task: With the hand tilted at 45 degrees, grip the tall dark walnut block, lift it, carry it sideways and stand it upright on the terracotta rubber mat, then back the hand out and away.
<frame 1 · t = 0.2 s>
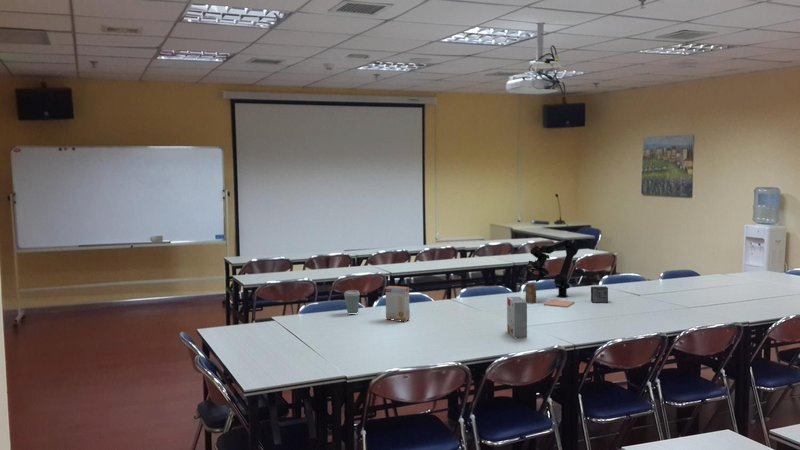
hand: (531, 280, 448), 14 cm above the table, tool tilted 35°, fingers open, 9 cm apart
walnut block: (530, 302, 446), on the table
cracker box: (397, 320, 401), on the table
terracotta mat: (559, 304, 439), on the table
hard drive box: (516, 334, 362), on the table
small box: (599, 302, 444), on the table
disposable coffee cup: (352, 314, 419), on the table
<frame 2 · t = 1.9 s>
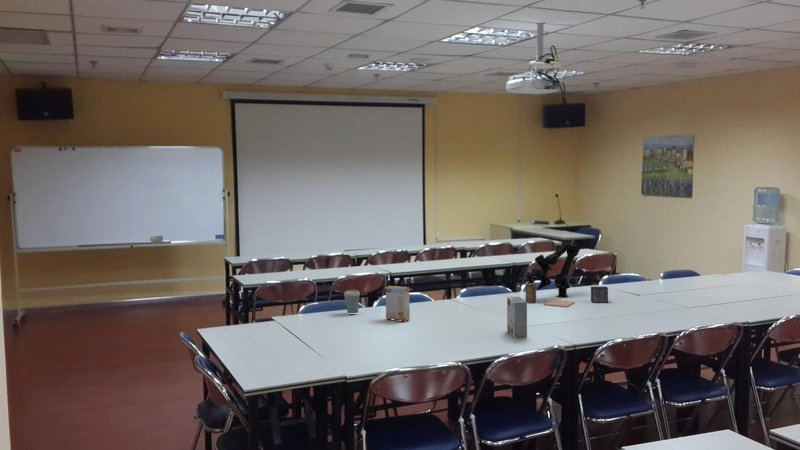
hand: (532, 288, 446), 9 cm above the table, tool tilted 45°, fingers open, 9 cm apart
nothing on the table moved.
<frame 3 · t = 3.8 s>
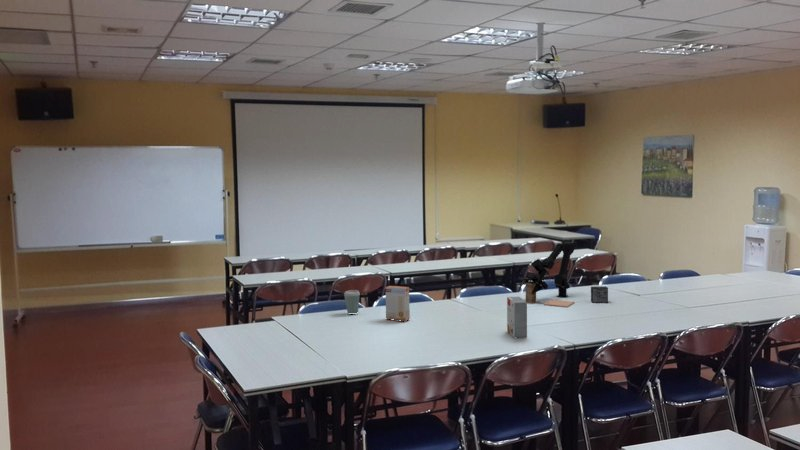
hand: (529, 293, 444), 7 cm above the table, tool tilted 45°, fingers closed on walnut block, 5 cm apart
walnut block: (530, 302, 446), on the table, touching gripper
everything else where it was.
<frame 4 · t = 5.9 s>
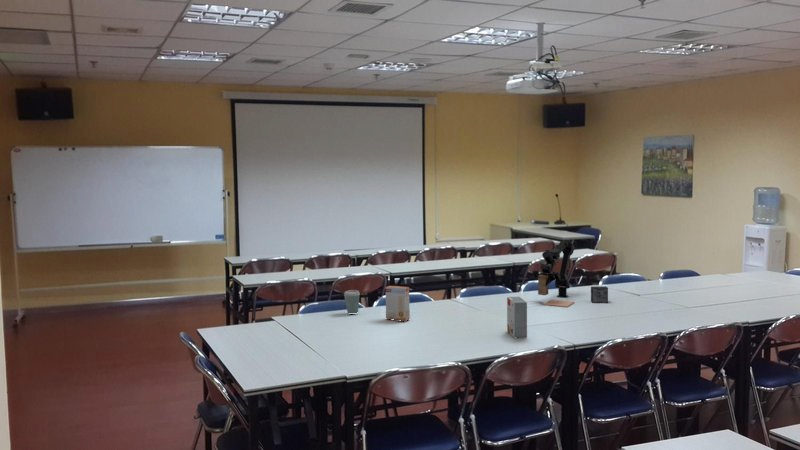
hand: (542, 284, 438), 13 cm above the table, tool tilted 45°, fingers closed on walnut block, 5 cm apart
walnut block: (543, 294, 439), point 7 cm above the table, touching gripper
everything else where it was.
when the fingers open (8 cm above the table, at t = 8.2 s): walnut block stays where it is, resting on terracotta mat.
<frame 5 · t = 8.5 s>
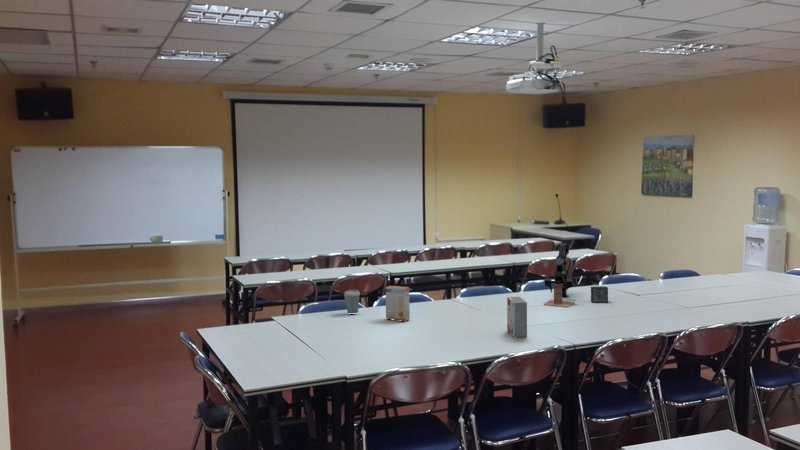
hand: (557, 292, 434), 9 cm above the table, tool tilted 45°, fingers open, 8 cm apart
walnut block: (558, 303, 436), point 1 cm above the table, touching terracotta mat
everything else where it was.
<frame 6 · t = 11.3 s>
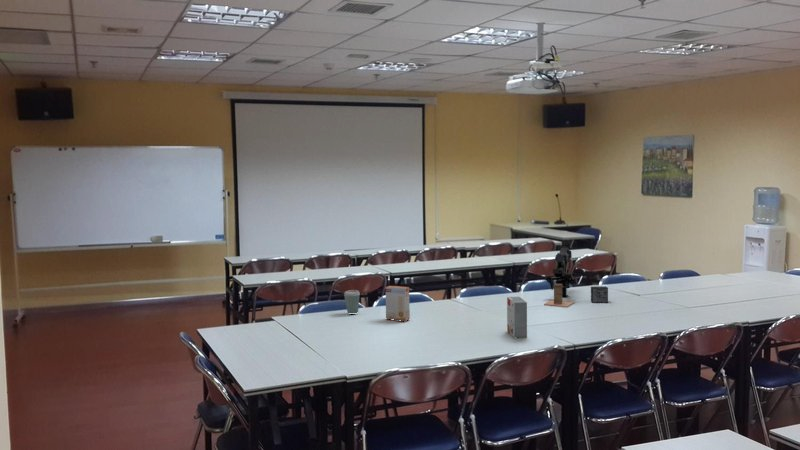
hand: (558, 289, 444), 9 cm above the table, tool tilted 40°, fingers open, 9 cm apart
nothing on the table moved.
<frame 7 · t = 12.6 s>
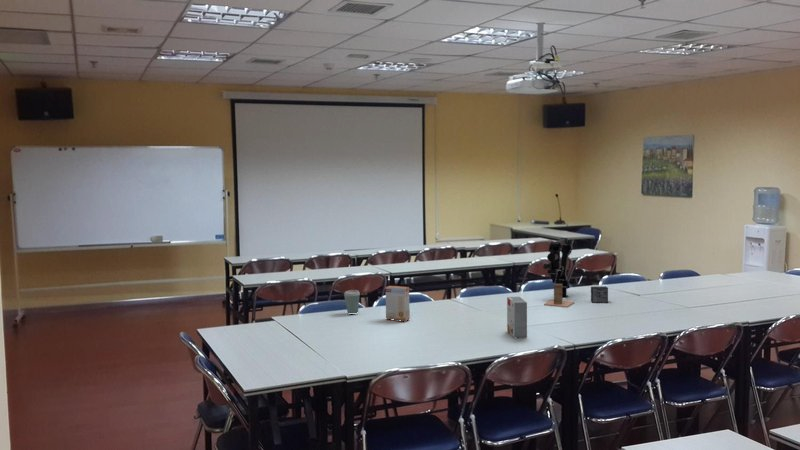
hand: (555, 281, 450), 13 cm above the table, tool pointing down, fingers open, 9 cm apart
nothing on the table moved.
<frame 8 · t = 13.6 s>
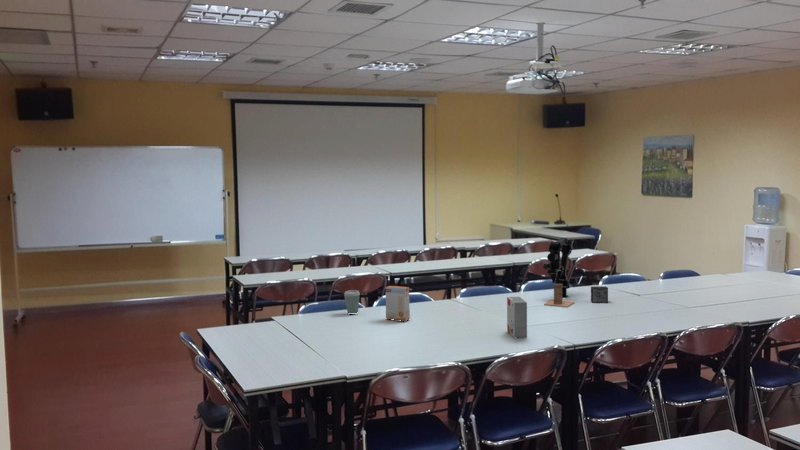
hand: (555, 281, 450), 13 cm above the table, tool pointing down, fingers open, 9 cm apart
nothing on the table moved.
at the end: walnut block inside the target area on the terracotta mat (0.1 cm from its centre), point 1.0 cm above the terracotta mat's base; walnut block tilted 0°; the gripper is holding nothing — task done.
